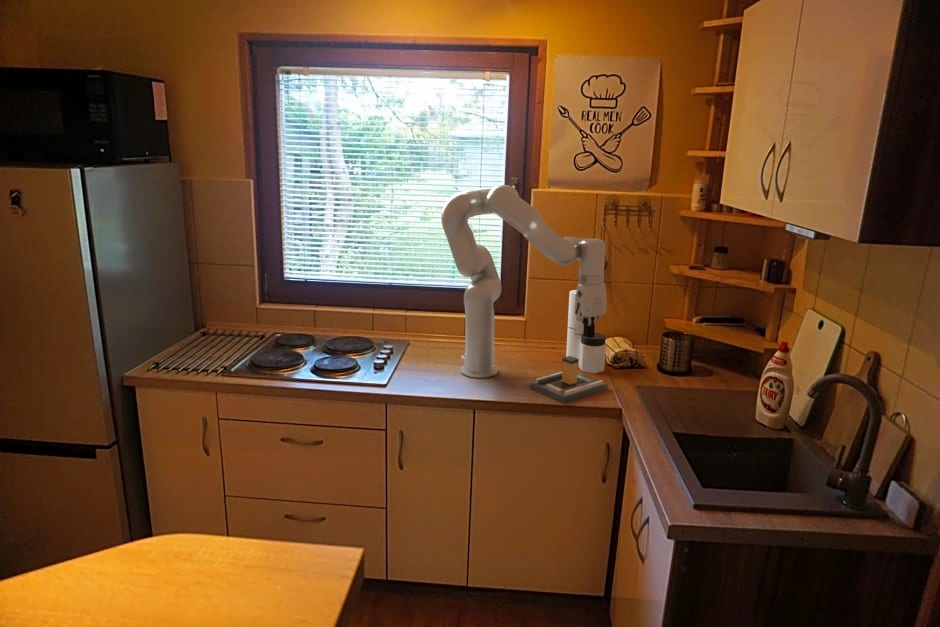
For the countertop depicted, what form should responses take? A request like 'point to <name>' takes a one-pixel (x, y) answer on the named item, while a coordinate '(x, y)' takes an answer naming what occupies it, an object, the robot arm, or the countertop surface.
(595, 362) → the jar
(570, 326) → the cylindrical container
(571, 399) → the panel
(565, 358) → the lever
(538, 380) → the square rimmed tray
